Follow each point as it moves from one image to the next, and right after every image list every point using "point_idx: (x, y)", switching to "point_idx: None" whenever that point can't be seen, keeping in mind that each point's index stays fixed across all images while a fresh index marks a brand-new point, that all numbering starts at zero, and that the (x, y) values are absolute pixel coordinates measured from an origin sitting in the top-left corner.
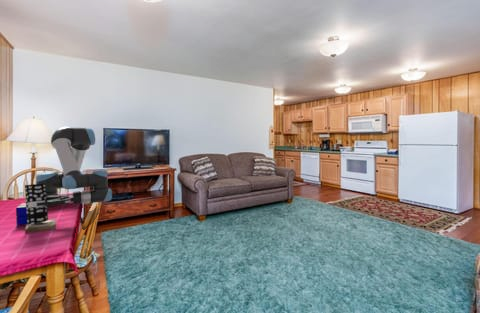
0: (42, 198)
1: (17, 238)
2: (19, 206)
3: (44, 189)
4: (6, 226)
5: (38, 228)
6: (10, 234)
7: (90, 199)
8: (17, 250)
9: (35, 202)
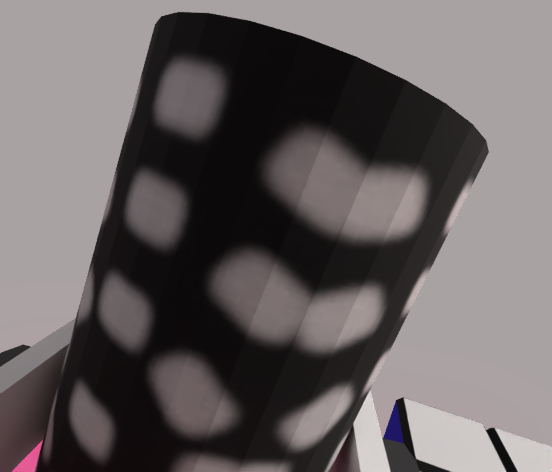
0: (64, 363)
1: (29, 465)
2: (446, 417)
3: (149, 208)
4: None
5: None
6: None
7: None
8: None
9: (63, 333)
